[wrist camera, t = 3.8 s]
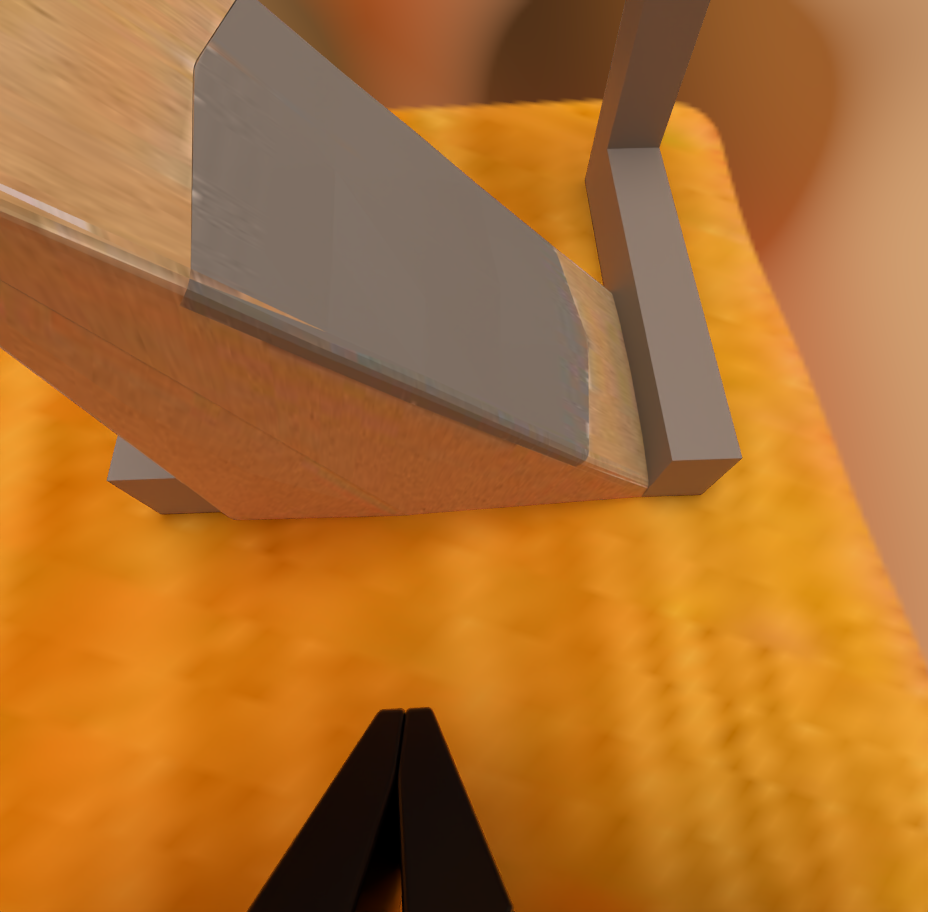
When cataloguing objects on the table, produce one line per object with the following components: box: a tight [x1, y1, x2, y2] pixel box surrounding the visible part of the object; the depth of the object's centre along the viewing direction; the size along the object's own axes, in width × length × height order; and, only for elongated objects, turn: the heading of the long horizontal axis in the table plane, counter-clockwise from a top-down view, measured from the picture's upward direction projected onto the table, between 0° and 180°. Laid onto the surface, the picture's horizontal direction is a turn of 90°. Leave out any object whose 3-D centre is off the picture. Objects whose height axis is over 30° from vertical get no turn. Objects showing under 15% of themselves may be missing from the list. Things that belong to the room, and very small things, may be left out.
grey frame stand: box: [107, 0, 742, 514], centre depth 13 cm, size 15×18×19 cm
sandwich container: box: [0, 0, 649, 520], centre depth 14 cm, size 9×15×15 cm, turn 93°
